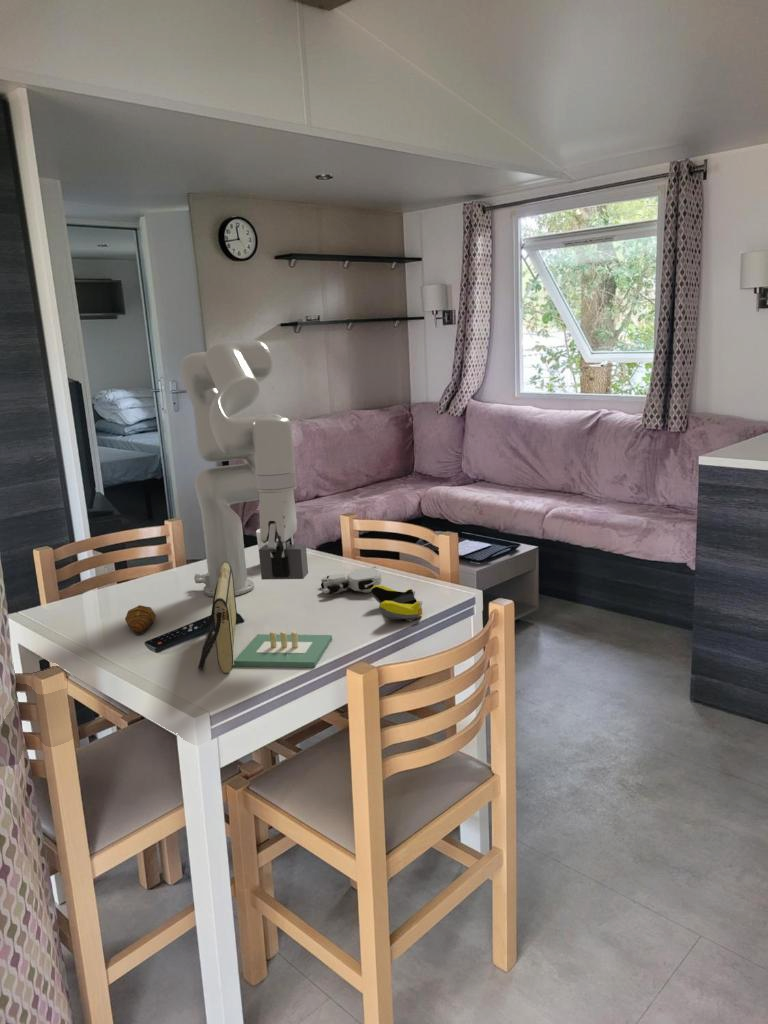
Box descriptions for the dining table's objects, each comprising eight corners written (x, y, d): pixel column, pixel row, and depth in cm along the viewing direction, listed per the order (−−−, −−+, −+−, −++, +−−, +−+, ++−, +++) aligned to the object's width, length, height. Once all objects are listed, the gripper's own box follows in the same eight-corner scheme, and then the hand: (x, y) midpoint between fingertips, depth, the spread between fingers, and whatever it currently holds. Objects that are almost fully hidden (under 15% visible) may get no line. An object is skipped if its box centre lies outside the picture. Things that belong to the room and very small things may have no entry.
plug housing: (261, 579, 150) (258, 544, 149) (267, 573, 154) (264, 539, 153) (303, 579, 149) (300, 544, 148) (308, 573, 153) (305, 539, 151)
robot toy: (323, 604, 184) (385, 594, 185) (320, 586, 183) (382, 576, 184) (321, 589, 196) (380, 580, 197) (319, 572, 195) (377, 563, 196)
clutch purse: (206, 627, 169) (199, 562, 166) (238, 624, 170) (232, 559, 167) (195, 682, 141) (187, 604, 138) (234, 678, 142) (226, 600, 139)
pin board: (234, 665, 147) (232, 645, 146) (258, 638, 161) (256, 620, 160) (314, 667, 144) (313, 646, 143) (332, 639, 158) (330, 620, 157)
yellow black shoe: (381, 628, 163) (427, 623, 164) (380, 604, 162) (426, 598, 163) (370, 606, 177) (412, 602, 179) (368, 583, 176) (411, 579, 178)
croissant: (130, 618, 179) (127, 597, 178) (160, 615, 180) (157, 594, 179) (122, 638, 166) (119, 616, 165) (154, 635, 167) (151, 613, 166)
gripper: (270, 475, 156) (278, 562, 160) (243, 490, 140) (252, 586, 144) (306, 474, 155) (313, 561, 159) (283, 488, 139) (291, 585, 143)
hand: (284, 572), depth 151 cm, fingers closed on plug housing, 4 cm apart
